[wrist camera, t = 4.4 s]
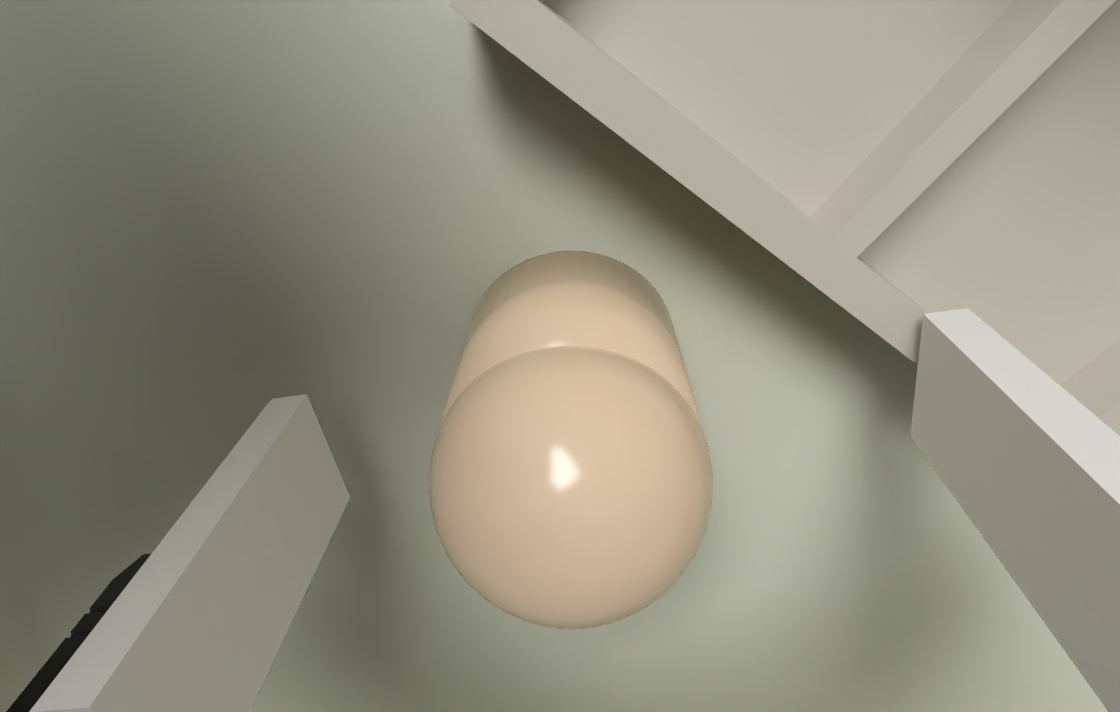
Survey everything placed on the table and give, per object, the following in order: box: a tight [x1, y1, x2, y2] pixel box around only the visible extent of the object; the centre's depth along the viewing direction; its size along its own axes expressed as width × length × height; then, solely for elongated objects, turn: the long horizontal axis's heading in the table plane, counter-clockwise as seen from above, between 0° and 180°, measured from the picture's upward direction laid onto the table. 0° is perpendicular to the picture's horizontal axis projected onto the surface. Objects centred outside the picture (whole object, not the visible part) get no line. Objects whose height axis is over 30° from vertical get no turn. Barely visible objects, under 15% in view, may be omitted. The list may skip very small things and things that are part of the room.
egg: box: [429, 251, 713, 629], centre depth 12 cm, size 5×5×7 cm
